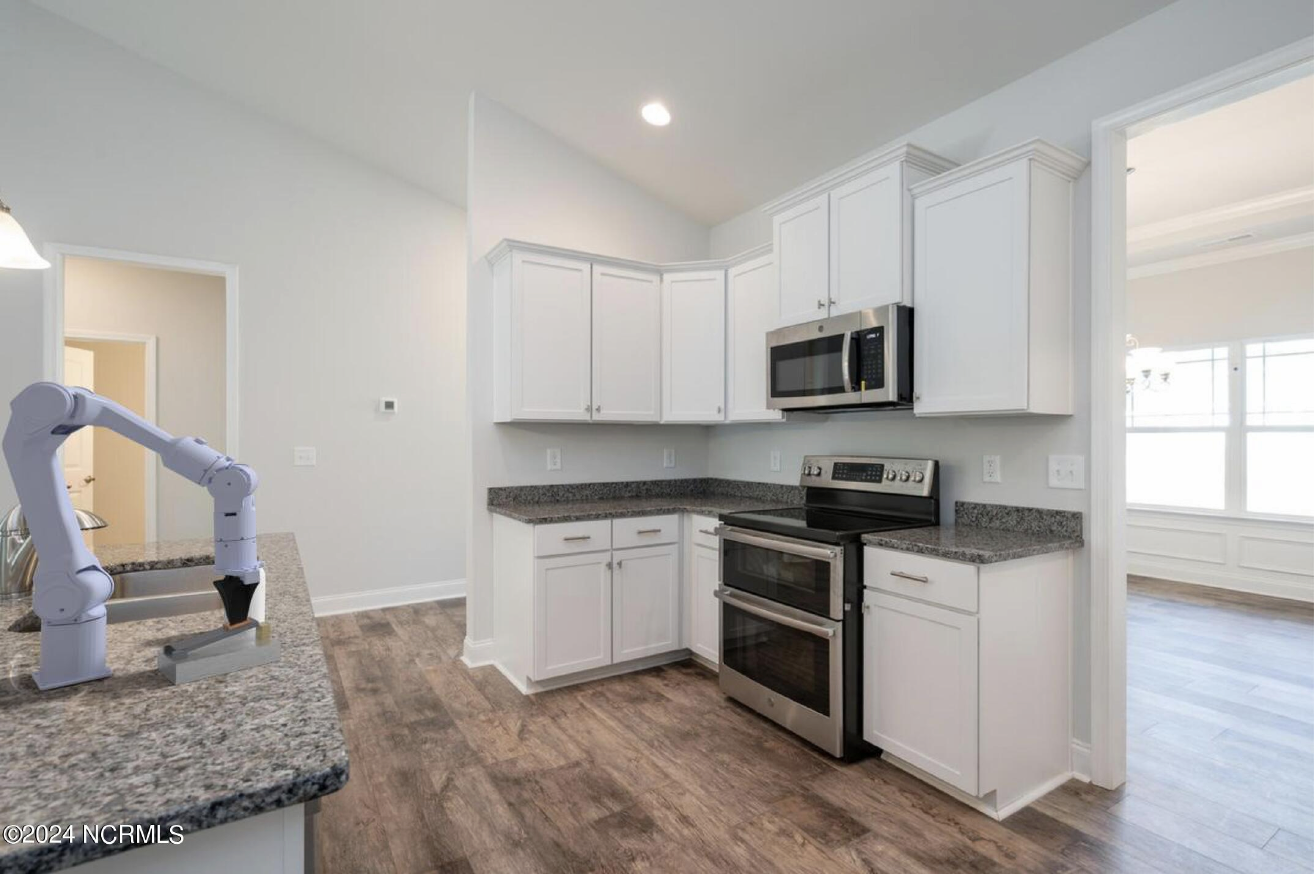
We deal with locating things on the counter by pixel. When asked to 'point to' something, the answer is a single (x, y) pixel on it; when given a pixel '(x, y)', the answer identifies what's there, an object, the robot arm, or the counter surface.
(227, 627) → the grey slab
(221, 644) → the base block
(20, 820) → the counter surface
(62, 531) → the robot arm
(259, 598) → the can
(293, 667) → the counter surface
